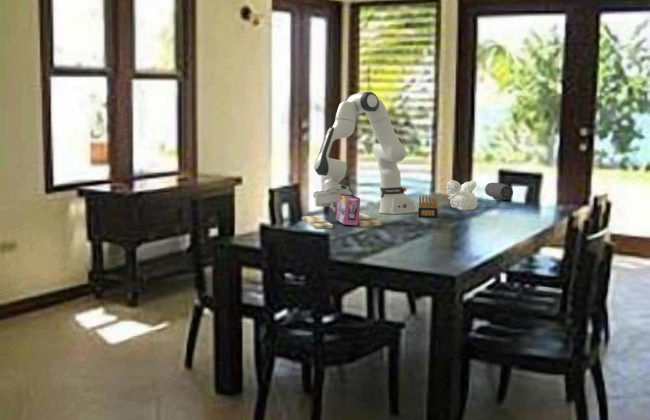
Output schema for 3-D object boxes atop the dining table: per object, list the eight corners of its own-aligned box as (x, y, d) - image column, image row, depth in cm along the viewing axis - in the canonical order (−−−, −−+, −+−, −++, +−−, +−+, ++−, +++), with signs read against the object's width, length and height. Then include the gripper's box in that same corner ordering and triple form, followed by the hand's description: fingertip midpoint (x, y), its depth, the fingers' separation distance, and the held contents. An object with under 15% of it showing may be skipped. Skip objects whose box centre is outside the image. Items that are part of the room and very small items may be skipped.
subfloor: (363, 215, 491) (363, 212, 491) (381, 224, 452) (381, 221, 452) (301, 219, 485) (301, 216, 485) (315, 228, 446) (315, 225, 446)
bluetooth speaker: (483, 198, 557) (483, 182, 556) (497, 197, 560) (497, 181, 558) (499, 201, 536) (499, 185, 534) (514, 200, 538) (513, 184, 537)
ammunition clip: (438, 217, 474) (438, 194, 473) (437, 217, 472) (437, 195, 471) (419, 217, 478) (418, 194, 477) (418, 217, 477) (417, 194, 475)
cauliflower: (468, 195, 492) (447, 174, 505) (454, 224, 502) (434, 203, 515) (493, 194, 502) (472, 174, 515) (479, 222, 512) (459, 202, 525)
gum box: (359, 226, 451) (361, 199, 450) (343, 224, 449) (346, 197, 448) (349, 220, 474) (352, 194, 473) (335, 219, 473) (337, 193, 472)
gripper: (313, 187, 475) (317, 208, 467) (351, 186, 479) (355, 206, 470) (312, 195, 480) (315, 215, 471) (349, 193, 484) (354, 213, 475)
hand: (336, 211), depth 471 cm, fingers closed
